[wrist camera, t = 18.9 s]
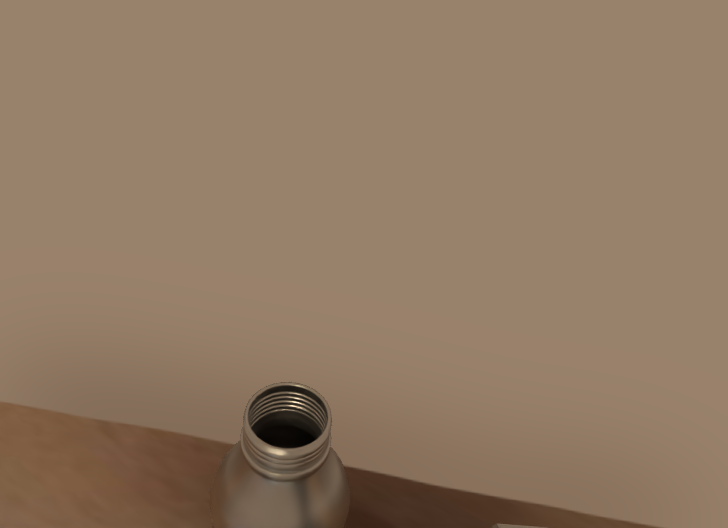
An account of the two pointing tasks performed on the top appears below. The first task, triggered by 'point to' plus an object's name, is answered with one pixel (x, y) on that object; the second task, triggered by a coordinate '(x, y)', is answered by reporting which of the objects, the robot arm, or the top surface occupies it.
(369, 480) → the top surface
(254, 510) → the plastic bottle
